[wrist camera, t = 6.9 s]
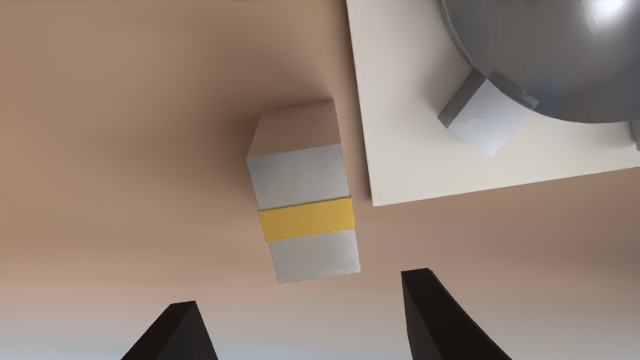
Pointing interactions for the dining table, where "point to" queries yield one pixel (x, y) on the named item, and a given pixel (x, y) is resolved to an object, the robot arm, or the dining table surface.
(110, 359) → the dining table surface
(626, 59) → the sprocket
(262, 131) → the yellow banded block
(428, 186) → the base plate
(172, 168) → the dining table surface
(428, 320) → the robot arm
